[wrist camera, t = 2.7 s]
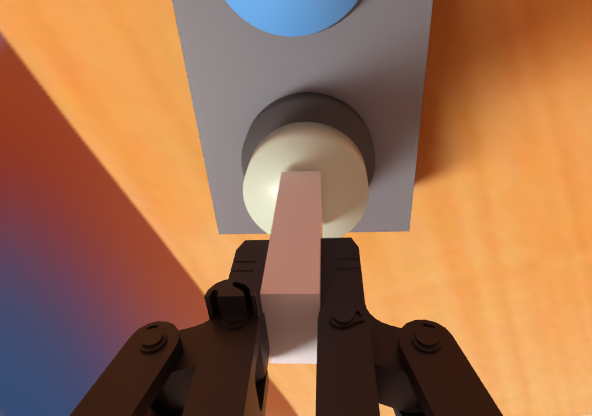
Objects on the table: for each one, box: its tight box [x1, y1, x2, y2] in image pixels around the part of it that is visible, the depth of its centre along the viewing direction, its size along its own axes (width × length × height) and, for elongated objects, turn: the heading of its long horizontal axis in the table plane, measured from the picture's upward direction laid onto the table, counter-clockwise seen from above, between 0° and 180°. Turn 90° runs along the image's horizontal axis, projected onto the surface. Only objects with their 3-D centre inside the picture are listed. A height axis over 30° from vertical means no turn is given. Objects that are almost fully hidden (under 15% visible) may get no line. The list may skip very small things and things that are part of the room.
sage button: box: [243, 122, 369, 238], centre depth 17 cm, size 5×5×2 cm
